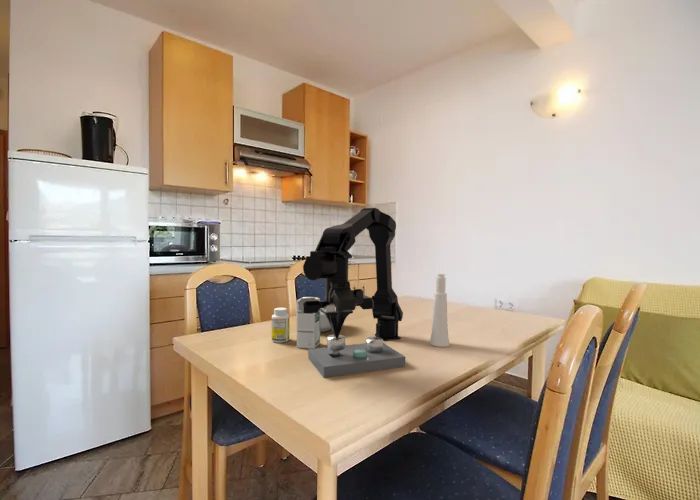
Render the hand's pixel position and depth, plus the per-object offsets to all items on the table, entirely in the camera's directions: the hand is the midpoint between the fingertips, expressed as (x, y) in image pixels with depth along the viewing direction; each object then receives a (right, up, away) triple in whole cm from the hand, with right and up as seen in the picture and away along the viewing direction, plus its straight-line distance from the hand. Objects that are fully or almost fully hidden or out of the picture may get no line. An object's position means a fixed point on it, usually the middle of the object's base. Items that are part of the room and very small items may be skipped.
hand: (336, 336), depth 91 cm
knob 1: (0, -7, 0) cm, 6 cm away
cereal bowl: (-7, -6, +36) cm, 37 cm away
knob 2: (+10, -8, +4) cm, 14 cm away
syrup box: (-9, -7, +16) cm, 20 cm away
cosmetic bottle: (+32, -7, +19) cm, 38 cm away
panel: (+5, -7, +2) cm, 9 cm away
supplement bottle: (-19, -7, +21) cm, 29 cm away
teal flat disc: (+6, -5, -1) cm, 8 cm away
